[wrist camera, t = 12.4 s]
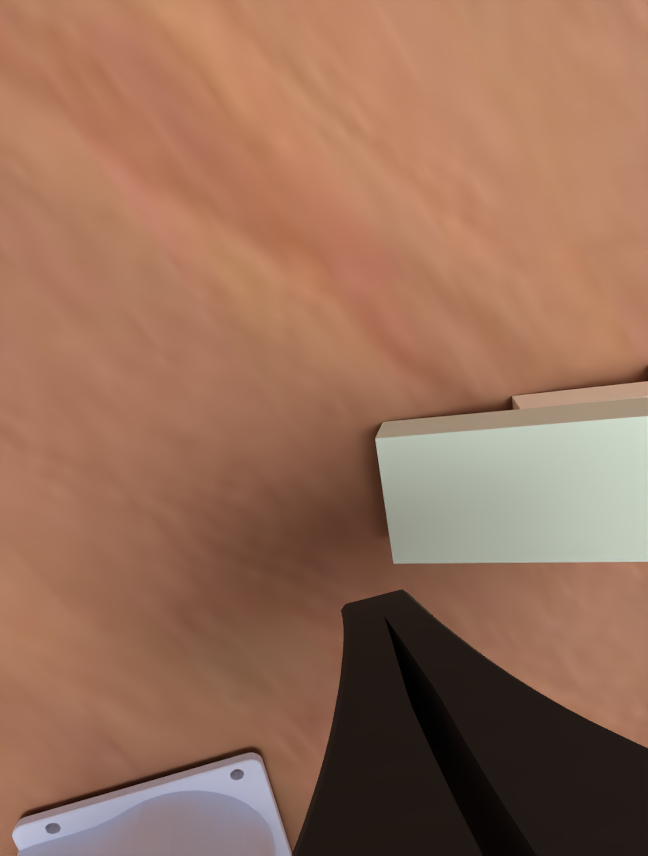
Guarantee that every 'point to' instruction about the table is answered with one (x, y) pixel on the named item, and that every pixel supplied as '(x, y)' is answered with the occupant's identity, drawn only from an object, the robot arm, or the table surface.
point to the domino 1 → (519, 485)
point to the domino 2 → (581, 395)
